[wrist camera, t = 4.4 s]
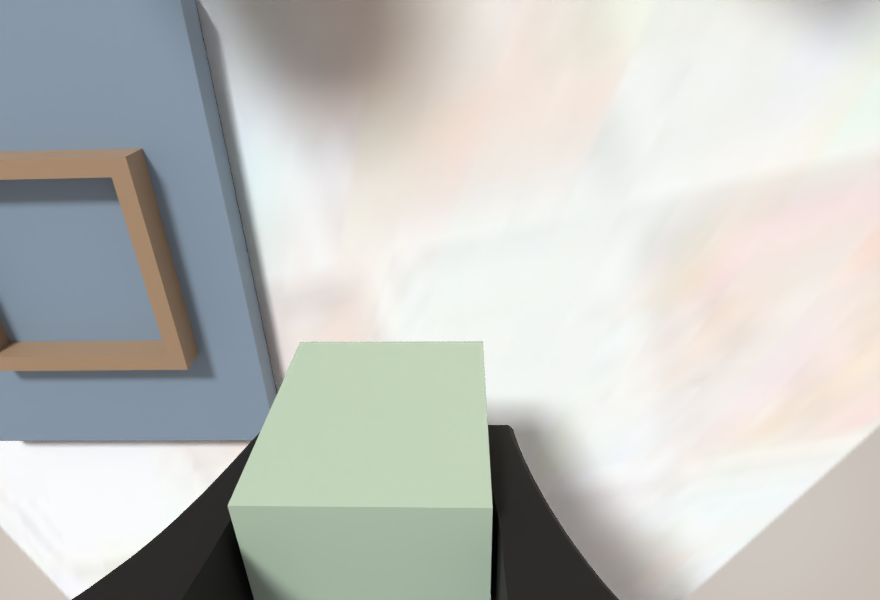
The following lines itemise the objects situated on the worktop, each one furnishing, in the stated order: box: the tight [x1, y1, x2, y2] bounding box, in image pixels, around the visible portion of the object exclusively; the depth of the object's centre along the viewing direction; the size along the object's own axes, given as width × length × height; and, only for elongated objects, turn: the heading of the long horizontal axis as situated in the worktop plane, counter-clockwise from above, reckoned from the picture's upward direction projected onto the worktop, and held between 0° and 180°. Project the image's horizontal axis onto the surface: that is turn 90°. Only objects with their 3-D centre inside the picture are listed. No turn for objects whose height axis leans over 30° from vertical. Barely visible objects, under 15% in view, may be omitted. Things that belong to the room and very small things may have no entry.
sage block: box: [228, 341, 493, 600], centre depth 13 cm, size 4×4×5 cm
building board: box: [0, 0, 277, 441], centre depth 20 cm, size 16×12×2 cm
